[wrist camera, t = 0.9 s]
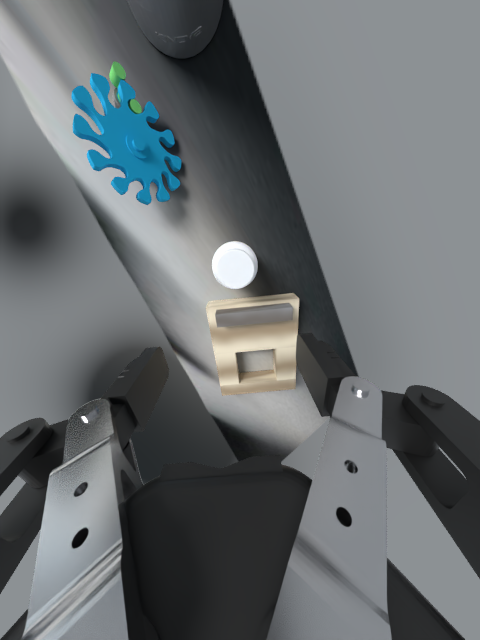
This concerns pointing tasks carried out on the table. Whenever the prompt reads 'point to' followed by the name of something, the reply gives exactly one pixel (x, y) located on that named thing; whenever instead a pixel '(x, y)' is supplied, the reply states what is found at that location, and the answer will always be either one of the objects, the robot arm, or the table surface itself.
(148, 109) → the blue lobed piece
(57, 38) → the table surface
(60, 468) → the robot arm
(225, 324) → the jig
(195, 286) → the table surface
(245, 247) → the supplement bottle
